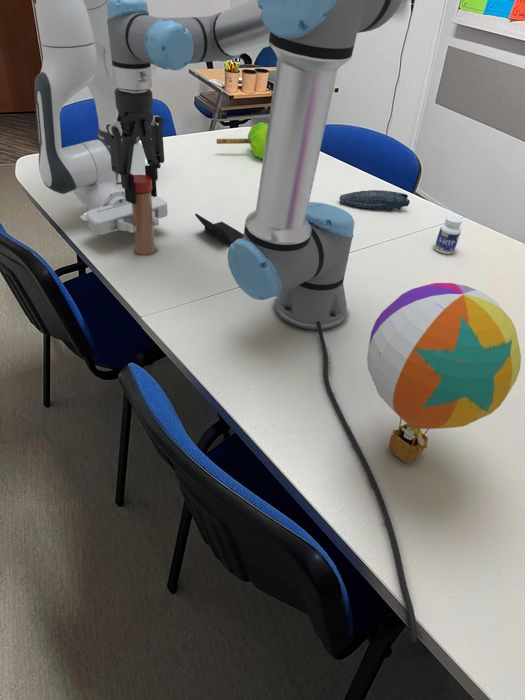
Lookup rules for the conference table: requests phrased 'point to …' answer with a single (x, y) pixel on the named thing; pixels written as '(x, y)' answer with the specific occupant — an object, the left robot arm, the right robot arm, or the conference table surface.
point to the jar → (143, 223)
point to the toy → (441, 360)
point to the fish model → (376, 199)
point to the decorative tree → (252, 139)
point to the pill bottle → (448, 235)
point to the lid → (142, 183)
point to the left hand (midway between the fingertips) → (145, 226)
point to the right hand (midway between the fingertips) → (141, 198)
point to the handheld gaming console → (221, 230)
